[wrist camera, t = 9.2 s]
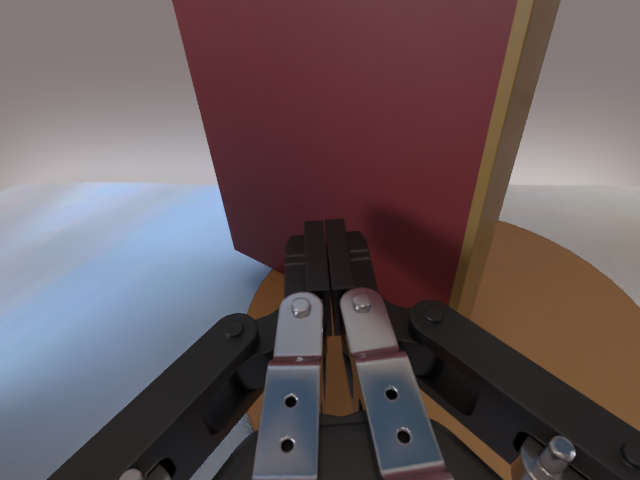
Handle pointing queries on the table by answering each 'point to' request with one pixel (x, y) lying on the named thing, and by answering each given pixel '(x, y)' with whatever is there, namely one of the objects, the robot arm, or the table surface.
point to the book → (404, 171)
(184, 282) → the table surface
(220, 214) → the table surface
